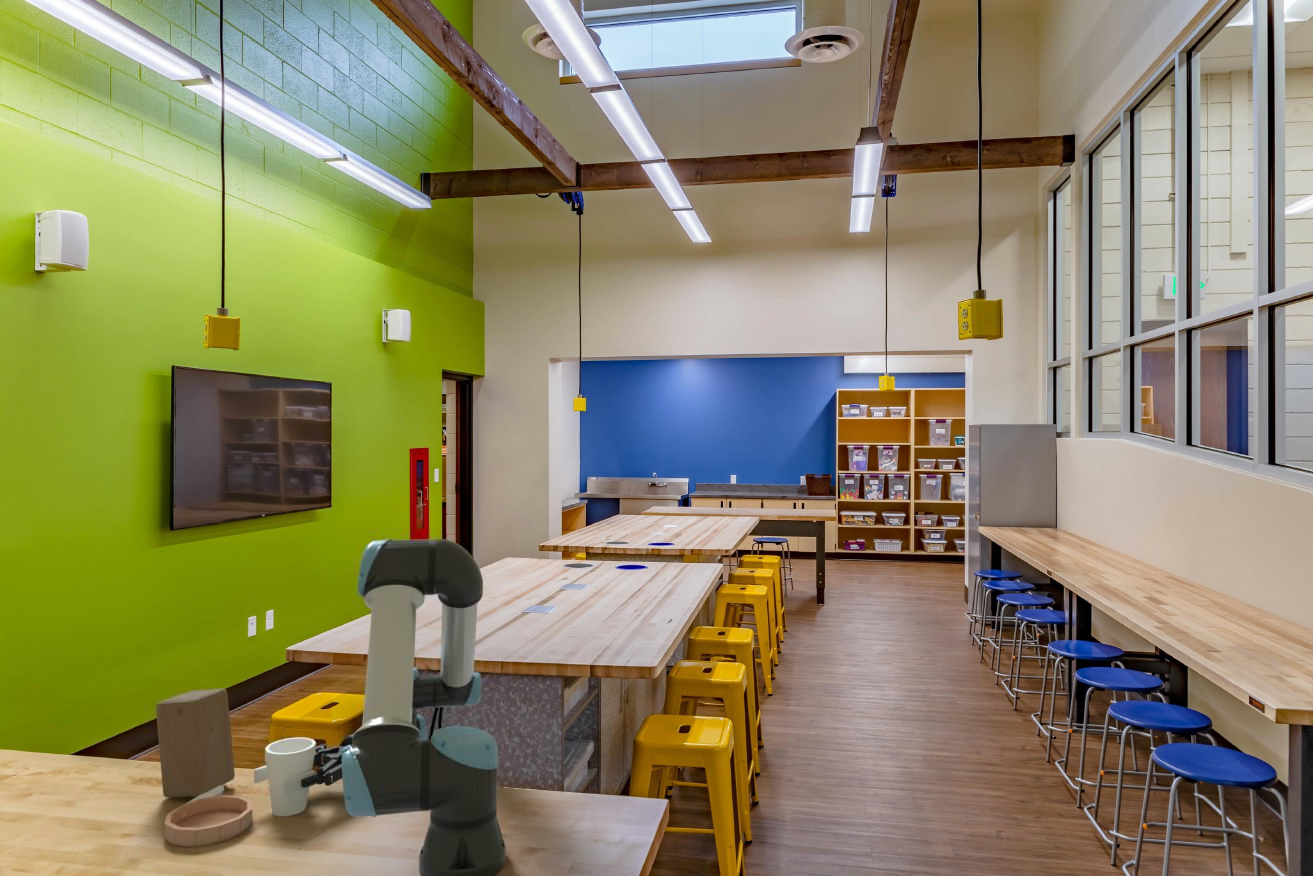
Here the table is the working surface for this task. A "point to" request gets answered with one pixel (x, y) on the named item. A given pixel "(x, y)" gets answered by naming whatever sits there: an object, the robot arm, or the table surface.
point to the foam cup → (288, 772)
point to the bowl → (208, 821)
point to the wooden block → (195, 742)
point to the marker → (210, 794)
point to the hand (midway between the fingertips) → (269, 782)
